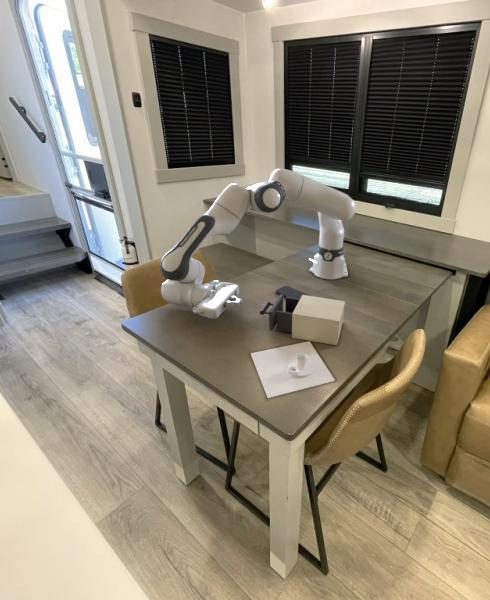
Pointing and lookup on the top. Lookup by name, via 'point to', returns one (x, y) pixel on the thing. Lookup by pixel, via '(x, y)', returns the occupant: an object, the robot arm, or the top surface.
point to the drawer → (280, 313)
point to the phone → (290, 292)
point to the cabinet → (318, 319)
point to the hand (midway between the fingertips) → (241, 303)
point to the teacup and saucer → (290, 368)
